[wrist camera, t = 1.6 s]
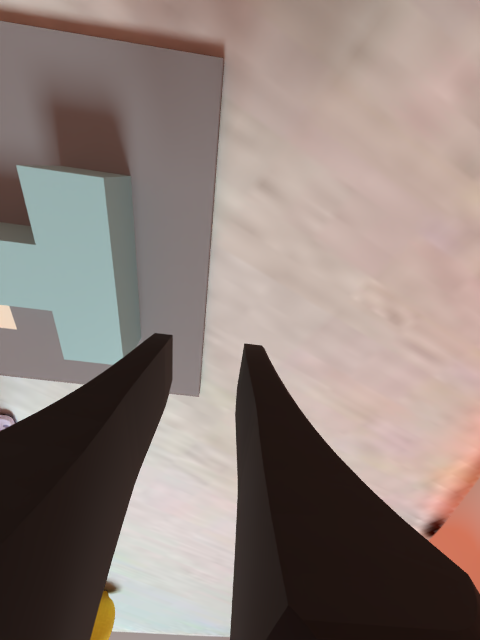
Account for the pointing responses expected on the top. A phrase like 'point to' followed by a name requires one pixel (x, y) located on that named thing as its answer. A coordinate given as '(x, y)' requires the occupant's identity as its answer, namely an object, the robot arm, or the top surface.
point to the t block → (76, 259)
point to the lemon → (104, 619)
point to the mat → (119, 158)
